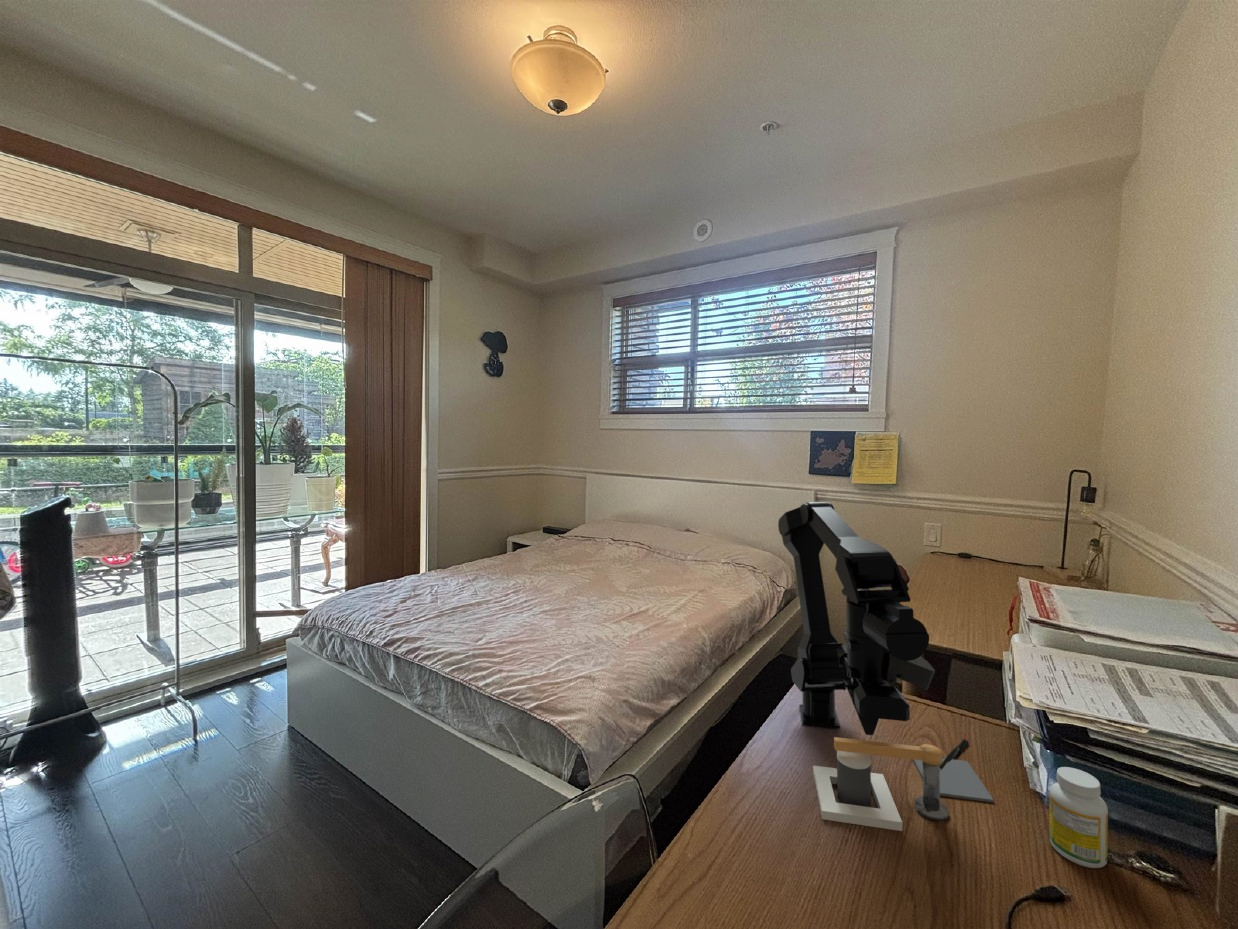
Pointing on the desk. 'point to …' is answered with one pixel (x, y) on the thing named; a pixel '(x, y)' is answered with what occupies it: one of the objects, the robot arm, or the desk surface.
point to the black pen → (954, 753)
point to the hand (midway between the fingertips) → (868, 733)
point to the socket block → (856, 814)
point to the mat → (959, 781)
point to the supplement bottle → (1078, 818)
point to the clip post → (931, 795)
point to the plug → (854, 778)
